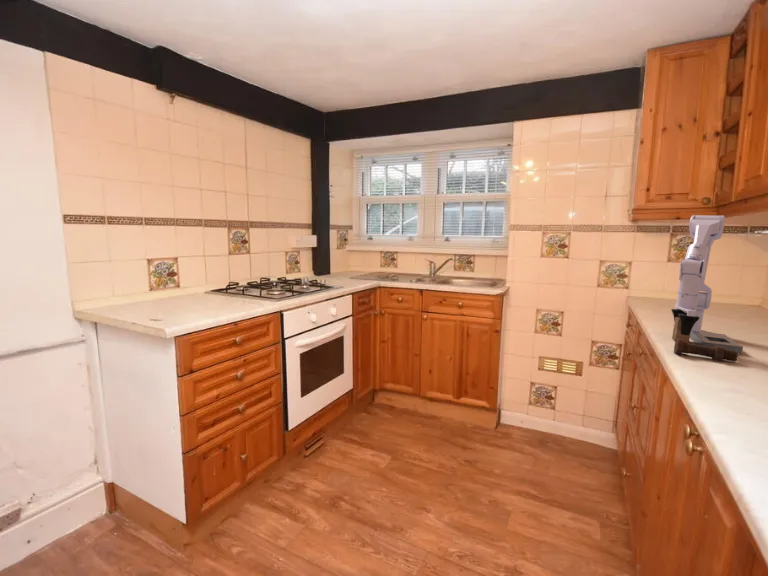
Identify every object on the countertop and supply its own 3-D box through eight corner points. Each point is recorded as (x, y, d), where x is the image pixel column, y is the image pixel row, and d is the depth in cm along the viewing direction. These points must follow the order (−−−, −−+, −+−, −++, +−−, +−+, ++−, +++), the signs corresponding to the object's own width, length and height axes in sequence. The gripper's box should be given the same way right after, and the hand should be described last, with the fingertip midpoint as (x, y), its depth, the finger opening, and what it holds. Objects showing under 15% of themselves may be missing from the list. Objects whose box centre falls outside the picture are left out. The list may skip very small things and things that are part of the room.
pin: (671, 338, 143) (675, 317, 141) (685, 340, 141) (689, 318, 140) (674, 341, 139) (678, 319, 138) (688, 343, 138) (692, 321, 136)
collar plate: (689, 336, 146) (690, 330, 145) (723, 341, 142) (724, 334, 141) (703, 349, 131) (704, 342, 131) (741, 354, 127) (743, 346, 127)
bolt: (734, 369, 119) (673, 358, 126) (732, 357, 123) (673, 346, 130) (741, 356, 116) (678, 345, 123) (738, 344, 119) (677, 334, 126)
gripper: (709, 298, 129) (702, 339, 132) (695, 292, 142) (689, 328, 145) (683, 296, 132) (676, 336, 134) (672, 290, 145) (666, 326, 147)
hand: (681, 332), depth 140 cm, fingers open, 7 cm apart
